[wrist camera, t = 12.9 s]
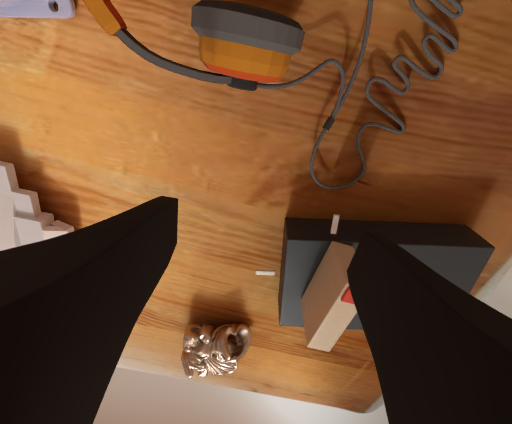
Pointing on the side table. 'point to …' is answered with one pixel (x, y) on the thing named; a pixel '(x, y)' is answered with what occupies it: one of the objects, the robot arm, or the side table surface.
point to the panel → (350, 233)
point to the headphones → (268, 52)
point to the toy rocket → (23, 214)
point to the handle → (328, 299)
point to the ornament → (214, 348)
